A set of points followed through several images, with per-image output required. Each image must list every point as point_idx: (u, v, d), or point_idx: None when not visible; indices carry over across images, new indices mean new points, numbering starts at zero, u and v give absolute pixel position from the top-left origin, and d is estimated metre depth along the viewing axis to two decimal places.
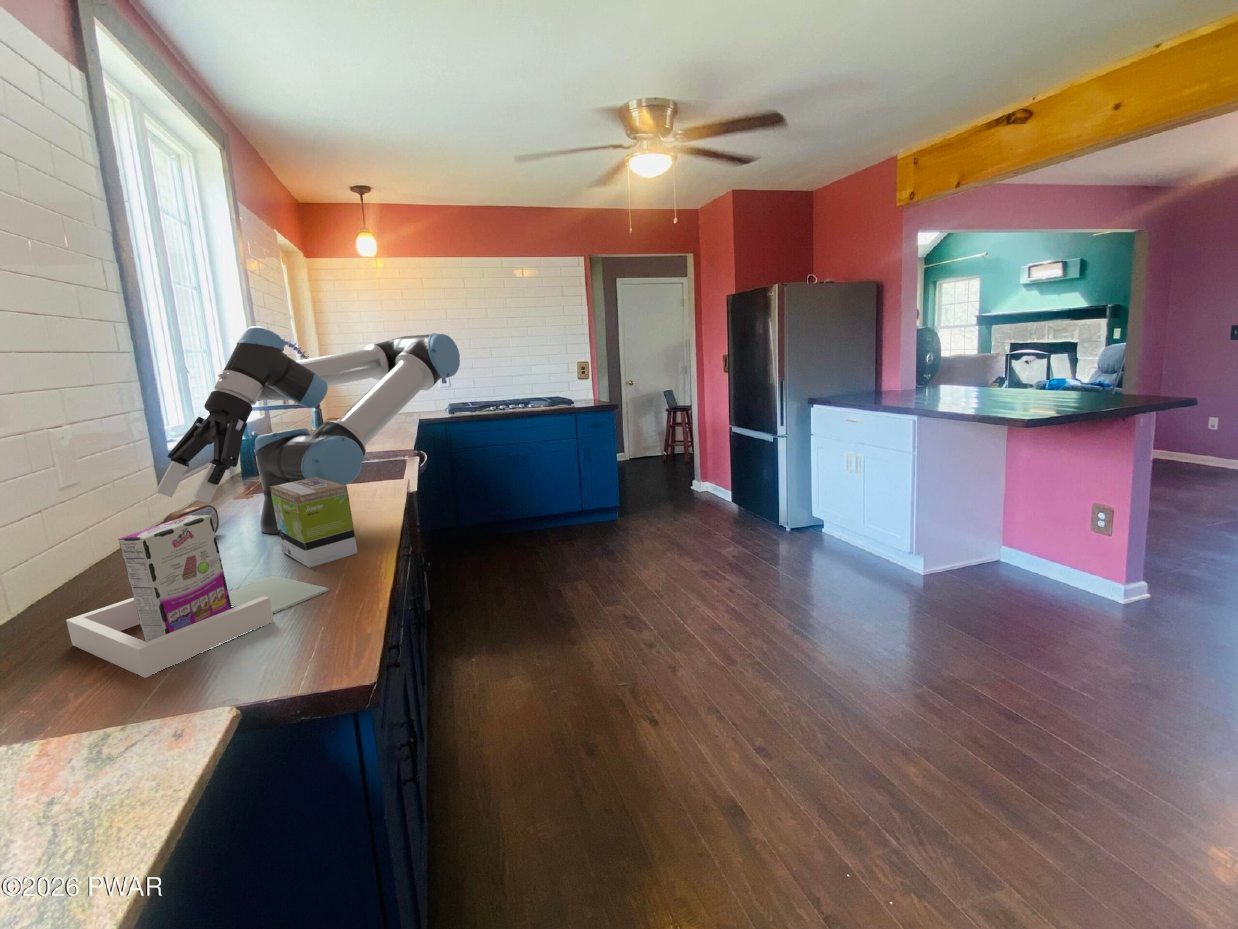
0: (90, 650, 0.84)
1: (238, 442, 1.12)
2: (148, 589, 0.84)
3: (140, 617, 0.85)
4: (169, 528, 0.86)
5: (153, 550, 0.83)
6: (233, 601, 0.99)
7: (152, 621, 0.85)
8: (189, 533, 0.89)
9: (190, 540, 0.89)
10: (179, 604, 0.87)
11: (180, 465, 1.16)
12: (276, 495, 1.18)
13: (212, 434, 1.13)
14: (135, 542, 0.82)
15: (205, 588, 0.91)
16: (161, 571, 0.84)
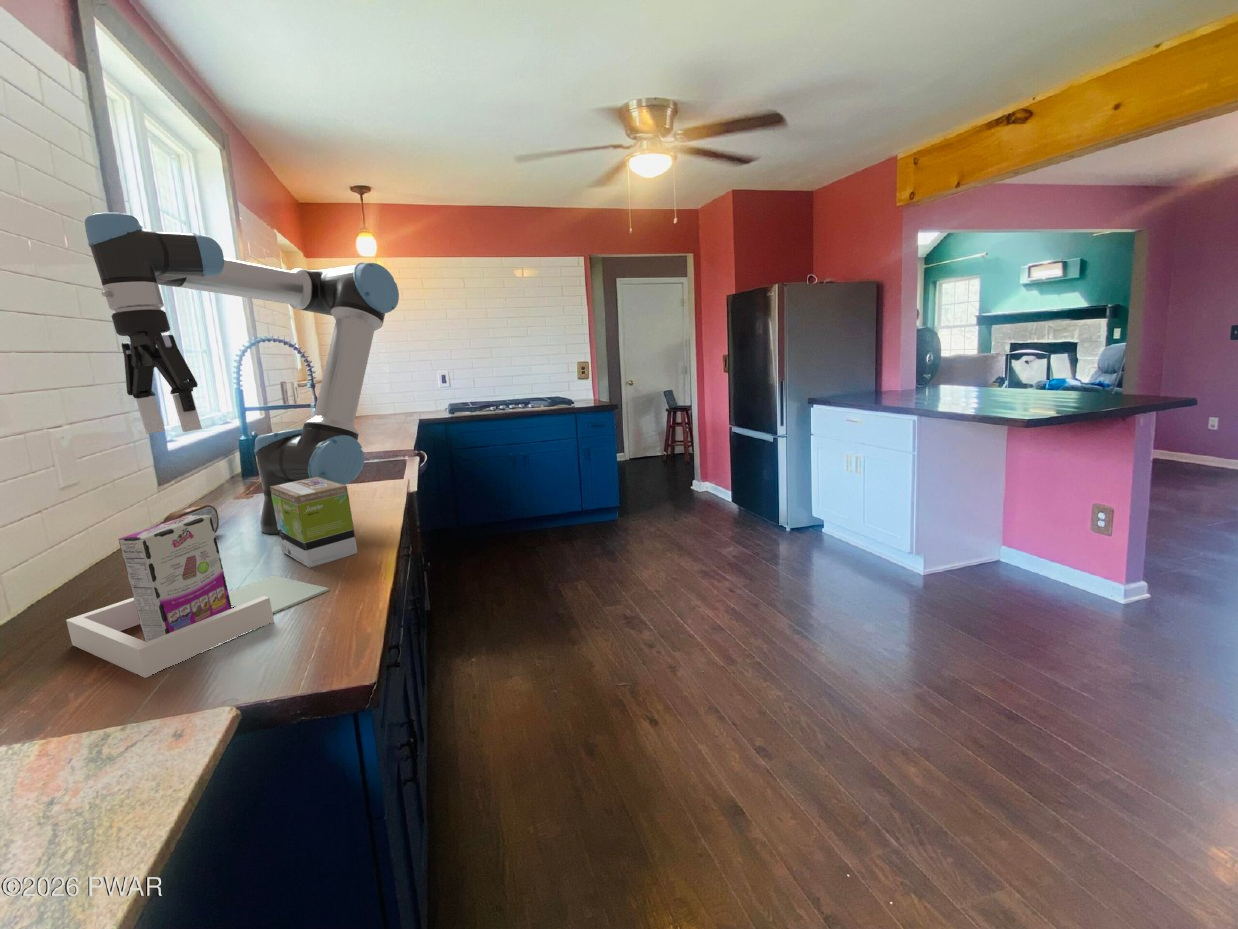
0: (90, 650, 0.84)
1: (180, 360, 1.01)
2: (148, 589, 0.84)
3: (140, 617, 0.85)
4: (169, 528, 0.86)
5: (153, 550, 0.83)
6: (233, 601, 0.99)
7: (152, 622, 0.85)
8: (189, 533, 0.89)
9: (190, 540, 0.89)
10: (179, 604, 0.87)
11: (147, 398, 1.09)
12: (277, 495, 1.18)
13: (150, 361, 1.01)
14: (135, 542, 0.82)
15: (205, 588, 0.91)
16: (161, 571, 0.84)
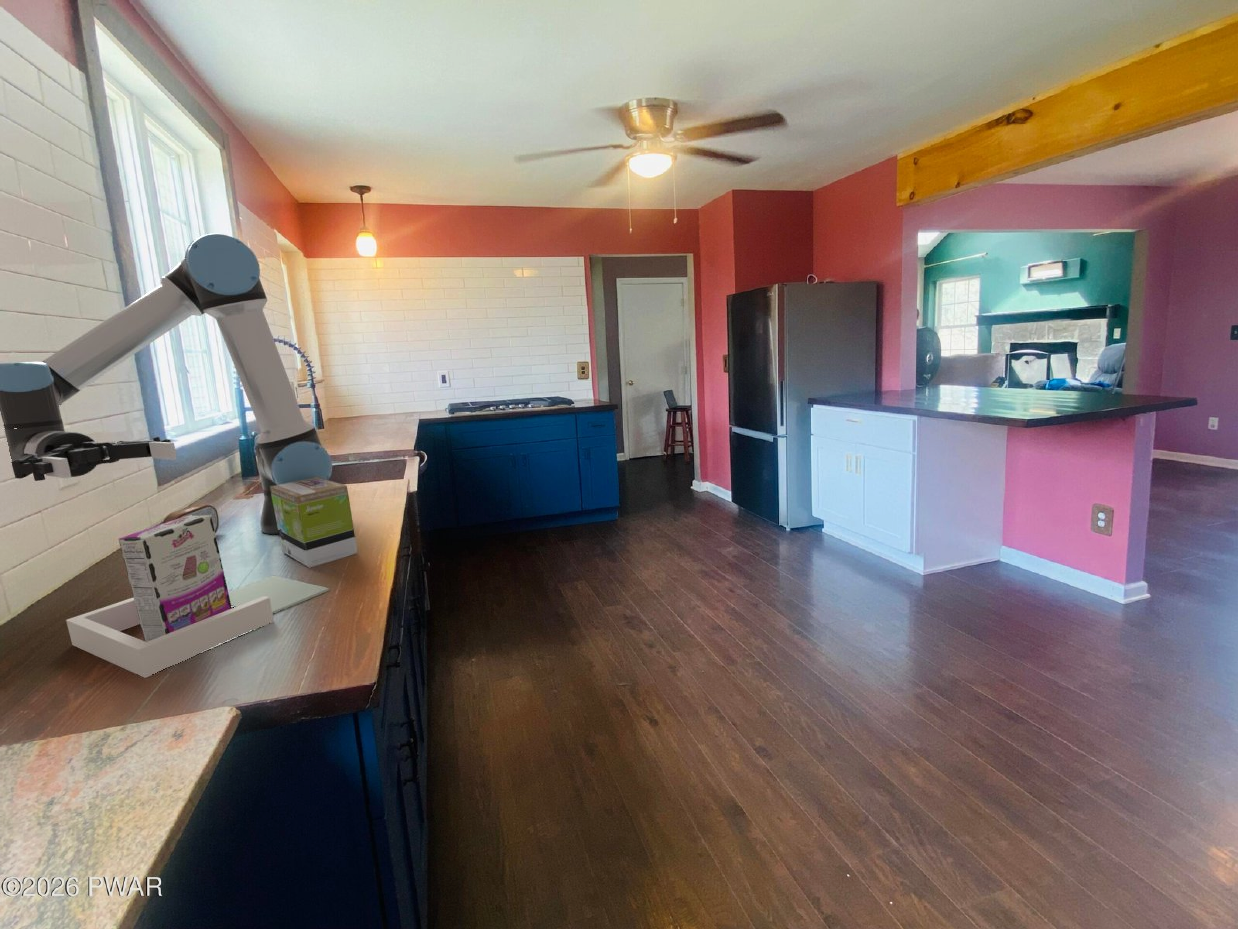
0: (90, 650, 0.84)
1: None
2: (148, 589, 0.84)
3: (140, 617, 0.85)
4: (169, 528, 0.86)
5: (153, 550, 0.83)
6: (233, 601, 0.99)
7: (152, 621, 0.85)
8: (189, 533, 0.89)
9: (190, 540, 0.89)
10: (179, 604, 0.87)
11: (151, 450, 0.99)
12: (277, 495, 1.19)
13: None
14: (135, 542, 0.82)
15: (205, 588, 0.91)
16: (161, 571, 0.84)
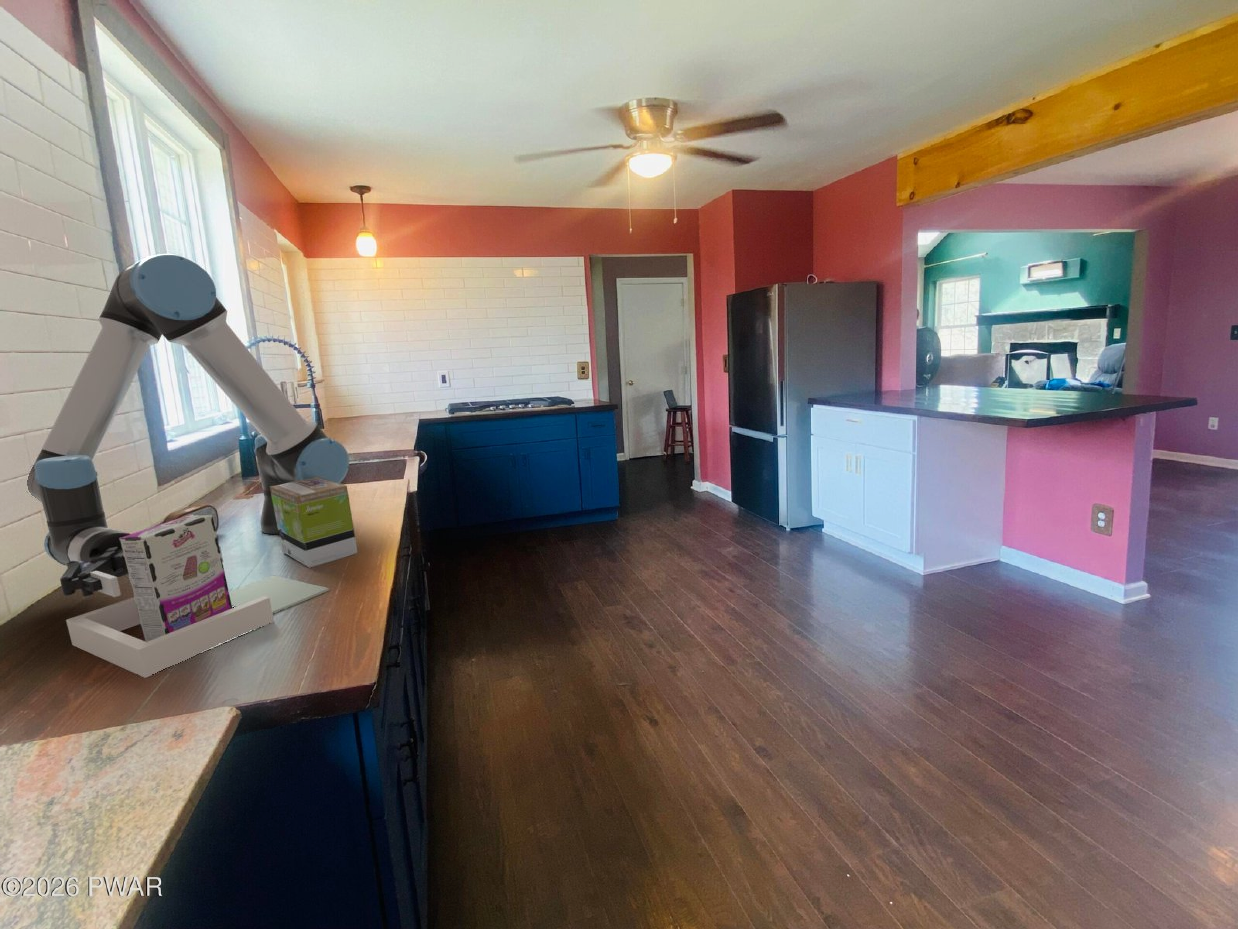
0: (90, 650, 0.84)
1: None
2: (148, 589, 0.84)
3: (140, 616, 0.85)
4: (170, 528, 0.86)
5: (154, 550, 0.83)
6: (233, 601, 0.99)
7: (152, 621, 0.85)
8: (190, 533, 0.89)
9: (191, 540, 0.89)
10: (179, 604, 0.87)
11: None
12: (276, 495, 1.18)
13: None
14: (136, 542, 0.82)
15: (205, 588, 0.91)
16: (161, 571, 0.84)
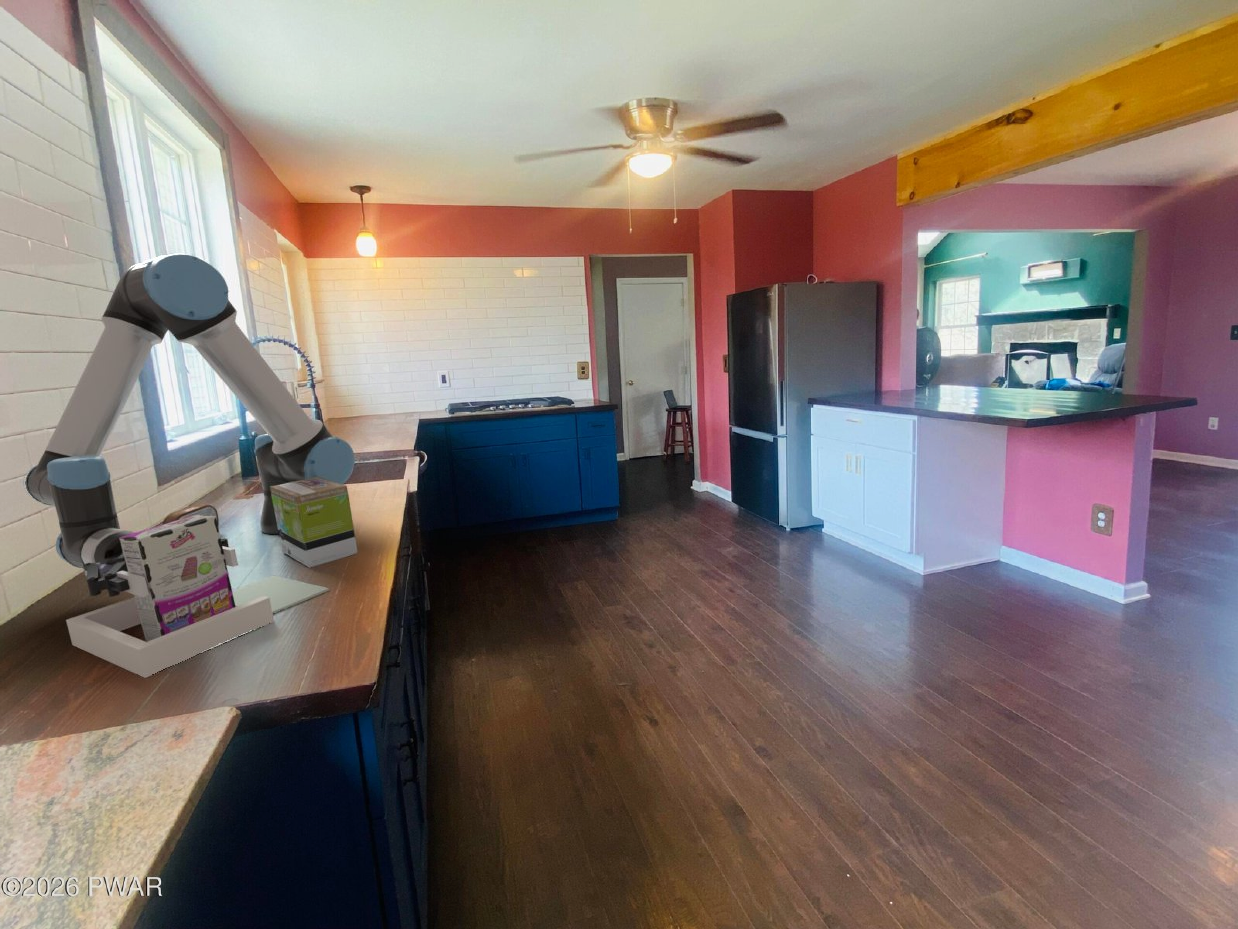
0: (90, 650, 0.84)
1: None
2: None
3: (140, 615, 0.86)
4: (169, 529, 0.86)
5: (149, 551, 0.83)
6: None
7: (149, 621, 0.85)
8: (190, 534, 0.88)
9: (190, 540, 0.88)
10: (177, 606, 0.86)
11: None
12: (277, 495, 1.18)
13: None
14: (132, 542, 0.82)
15: (206, 590, 0.90)
16: (157, 572, 0.84)
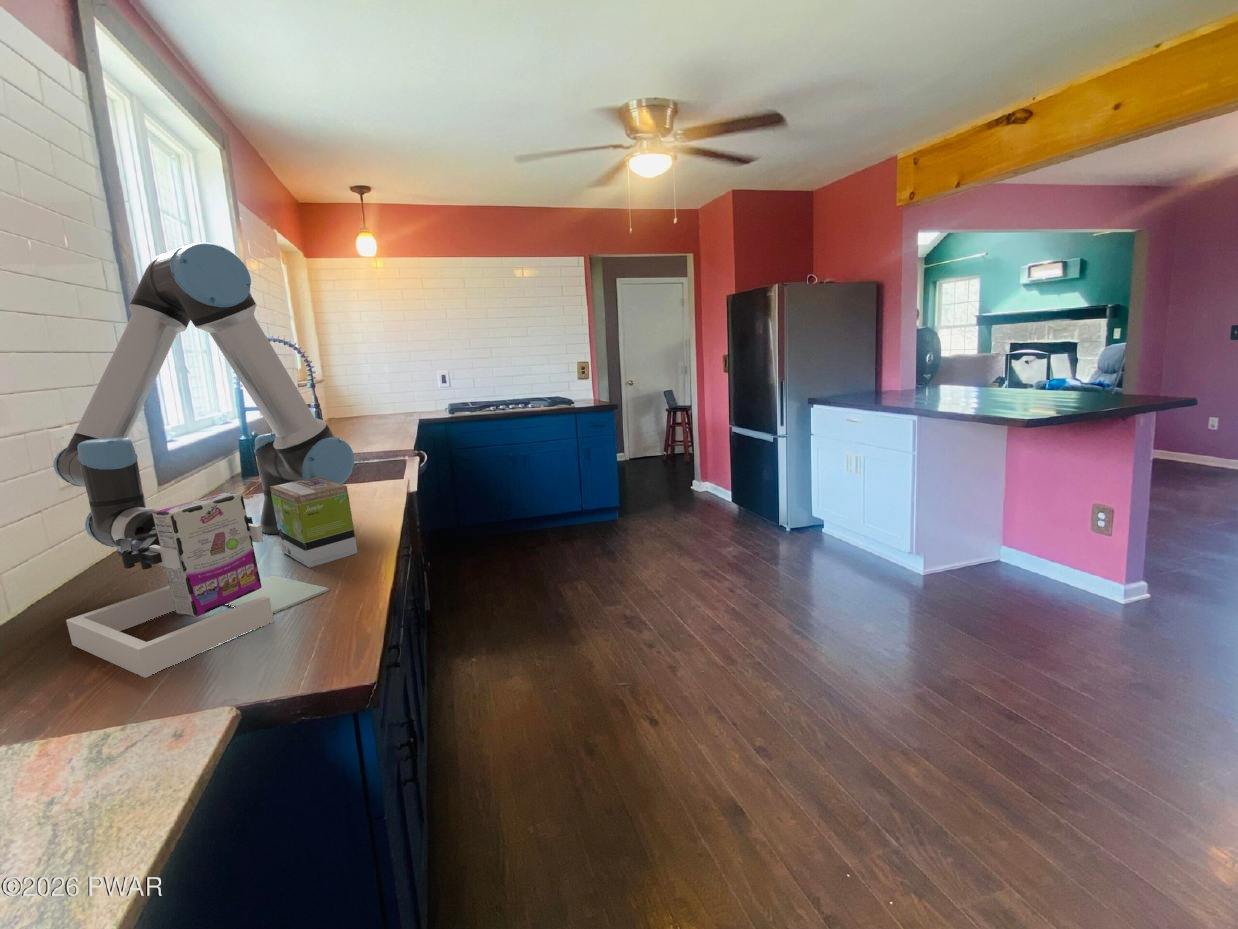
0: (90, 650, 0.84)
1: None
2: None
3: (171, 588, 0.89)
4: (199, 504, 0.89)
5: (181, 525, 0.86)
6: (233, 601, 0.99)
7: (180, 593, 0.89)
8: (218, 510, 0.91)
9: (219, 516, 0.92)
10: (206, 579, 0.90)
11: None
12: (277, 495, 1.18)
13: None
14: (165, 517, 0.86)
15: (234, 564, 0.94)
16: (188, 546, 0.87)
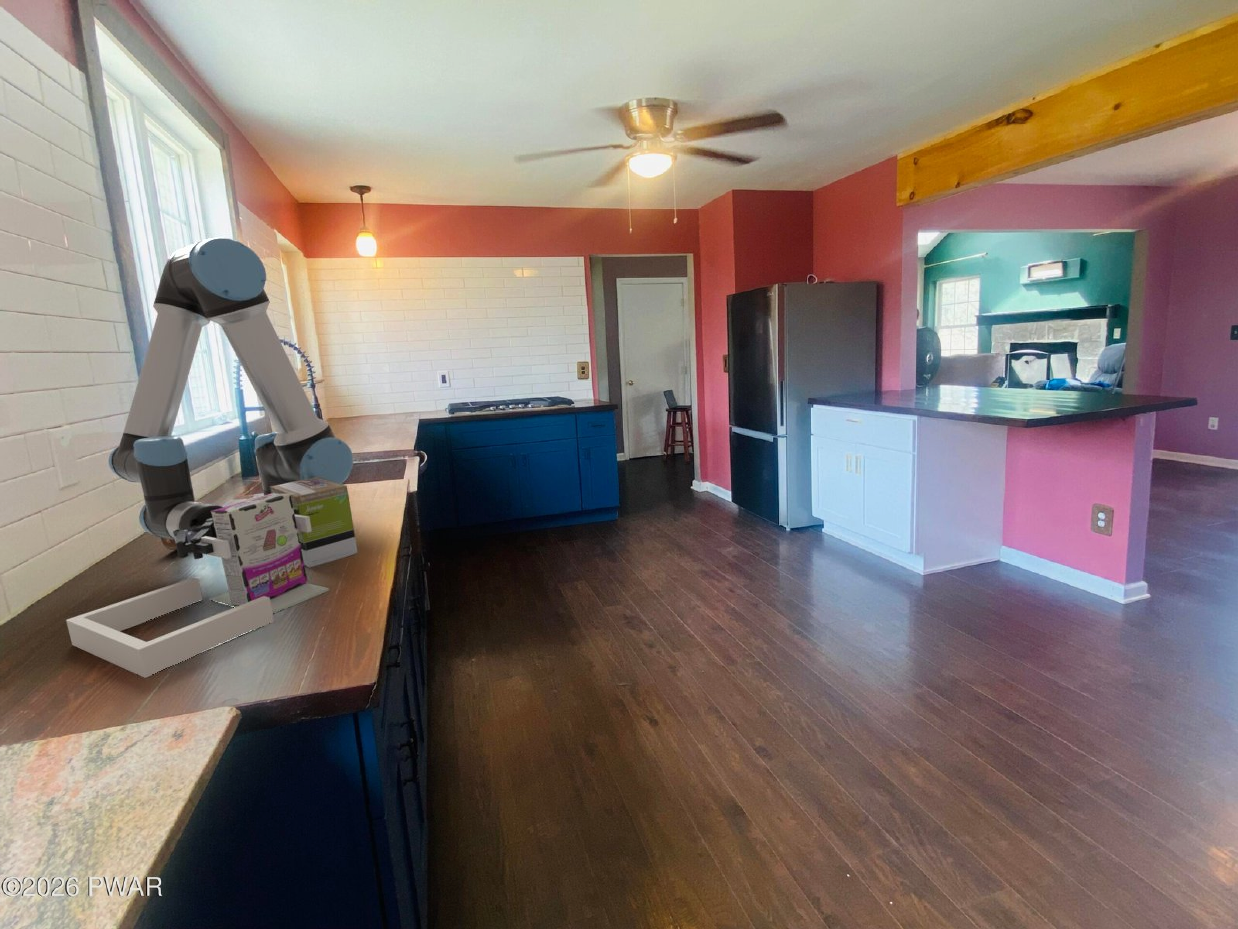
0: (90, 650, 0.84)
1: None
2: (233, 557, 0.94)
3: (227, 581, 0.96)
4: (252, 504, 0.96)
5: (238, 523, 0.94)
6: None
7: (236, 586, 0.96)
8: (270, 509, 0.98)
9: (270, 515, 0.99)
10: (260, 572, 0.97)
11: None
12: None
13: None
14: (223, 515, 0.93)
15: (283, 559, 1.01)
16: (244, 542, 0.94)
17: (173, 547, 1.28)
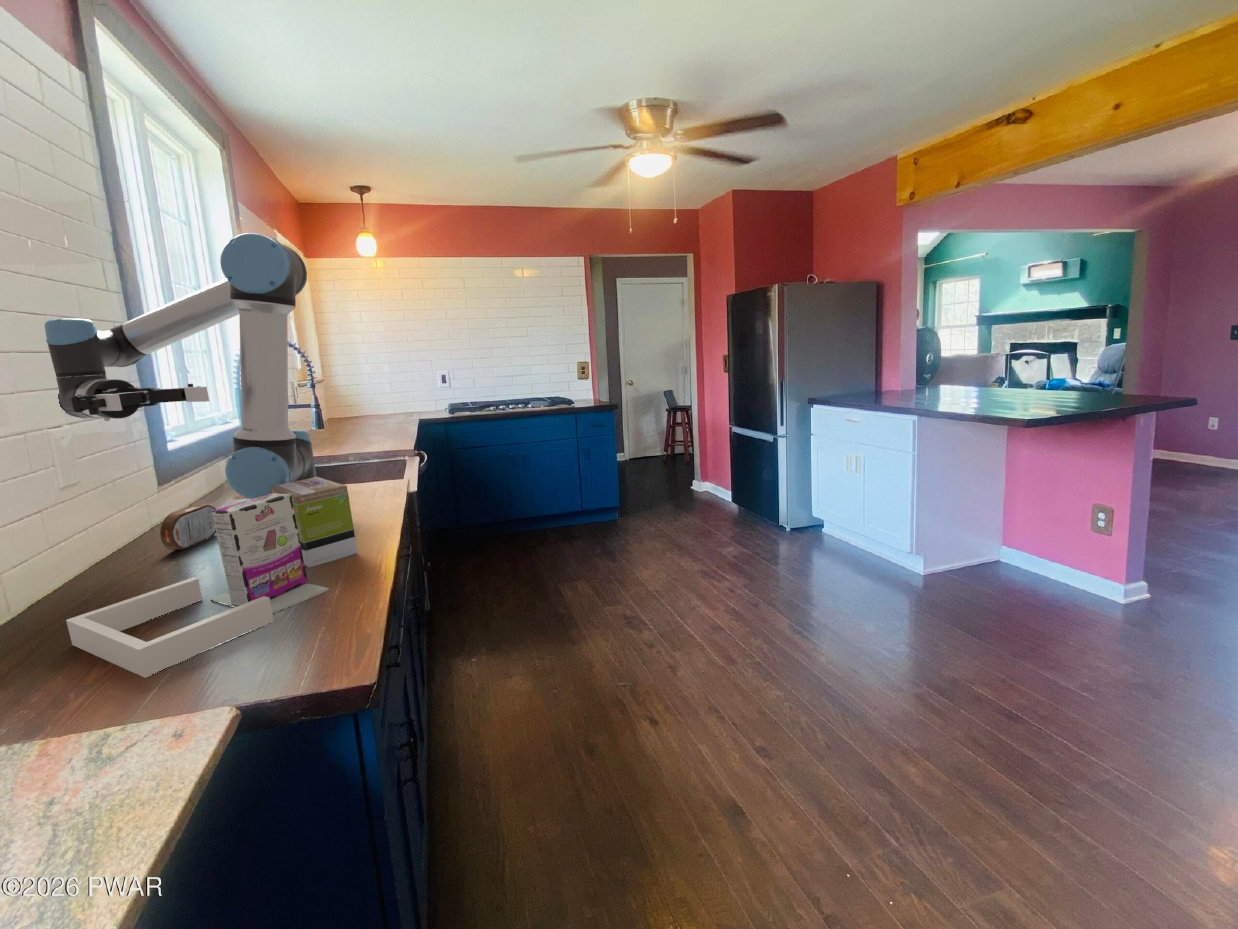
0: (90, 650, 0.84)
1: None
2: (233, 557, 0.94)
3: (227, 581, 0.96)
4: (253, 504, 0.96)
5: (238, 523, 0.93)
6: None
7: (236, 586, 0.96)
8: (270, 509, 0.98)
9: (271, 515, 0.99)
10: (260, 573, 0.97)
11: (186, 394, 1.13)
12: None
13: None
14: (224, 515, 0.93)
15: (283, 560, 1.01)
16: (244, 542, 0.94)
17: (173, 547, 1.28)
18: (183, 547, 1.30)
